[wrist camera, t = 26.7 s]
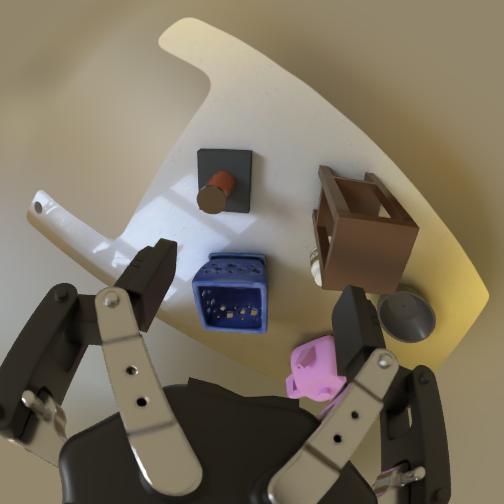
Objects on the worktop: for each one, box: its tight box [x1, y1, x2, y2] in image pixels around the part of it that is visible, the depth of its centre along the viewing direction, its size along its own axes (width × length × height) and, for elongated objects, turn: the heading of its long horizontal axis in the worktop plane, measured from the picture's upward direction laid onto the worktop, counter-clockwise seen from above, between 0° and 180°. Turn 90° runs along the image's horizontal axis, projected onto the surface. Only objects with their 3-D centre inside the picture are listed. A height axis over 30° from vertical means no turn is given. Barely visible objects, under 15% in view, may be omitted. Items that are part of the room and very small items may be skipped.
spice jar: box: [197, 171, 235, 214], centre depth 42 cm, size 4×4×8 cm
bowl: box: [377, 284, 436, 343], centre depth 55 cm, size 12×22×6 cm, turn 50°
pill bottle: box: [310, 247, 322, 286], centre depth 50 cm, size 4×4×8 cm
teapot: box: [286, 335, 346, 401], centre depth 64 cm, size 19×18×15 cm
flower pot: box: [192, 253, 268, 334], centre depth 53 cm, size 13×13×12 cm
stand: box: [312, 166, 419, 294], centre depth 38 cm, size 10×10×20 cm
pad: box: [197, 149, 252, 213], centre depth 47 cm, size 11×9×2 cm
